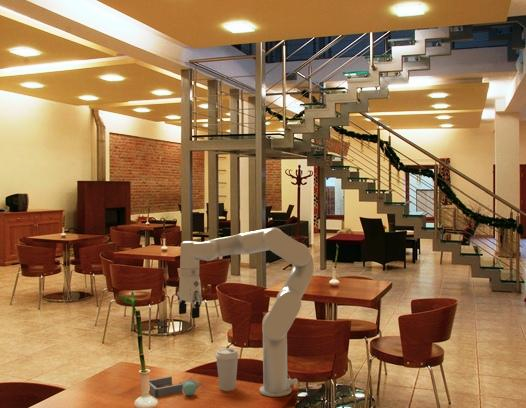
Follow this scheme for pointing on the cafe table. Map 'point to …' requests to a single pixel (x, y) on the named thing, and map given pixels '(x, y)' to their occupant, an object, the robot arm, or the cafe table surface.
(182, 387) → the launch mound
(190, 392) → the ball
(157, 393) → the tray
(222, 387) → the coffee cup
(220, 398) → the cafe table surface
